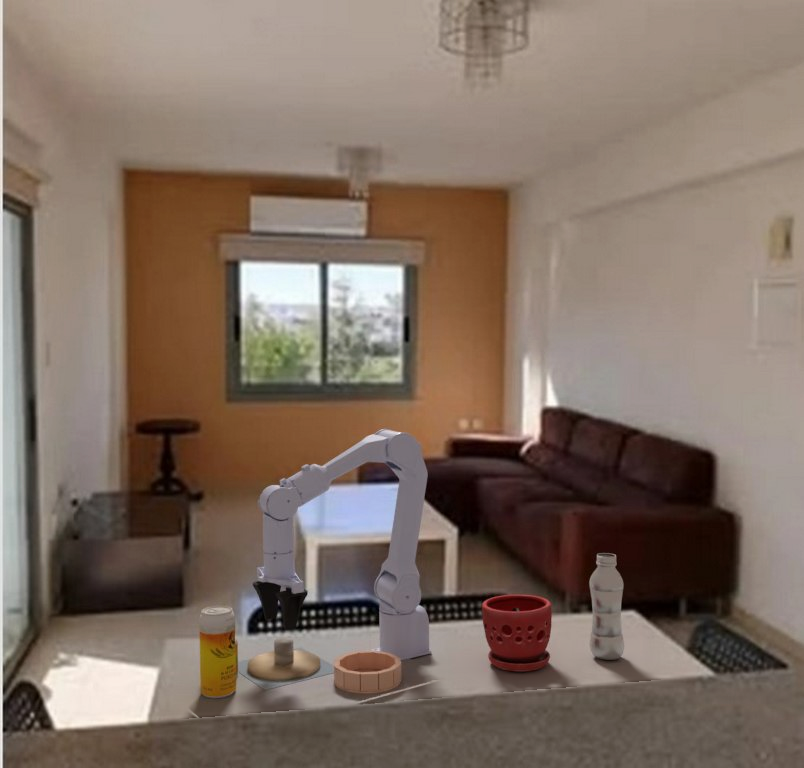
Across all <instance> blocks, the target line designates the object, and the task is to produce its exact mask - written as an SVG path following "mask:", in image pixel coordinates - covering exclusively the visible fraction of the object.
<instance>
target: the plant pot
mask: <svg viewBox="0 0 804 768" xmlns="http://www.w3.org/2000/svg"><path fill="white" fill-rule="evenodd" d="M481 605H482V606H481V611H482V612H481V613H482V625H483V629H484V636H485V638H486V642H487V644H488V645H487V646H488V647H489V649H490V651H489V652H488V654H487V655H488V657H487V658H488V659H489V662H490V663H491V664H492V665H494V666H495V667H497V668H498V669H501V670H502V671H511V672H529V671H531V672H532V671H535V670H539V669H542V668H543V667H544V666H545V667H546V665H547V664H548V662H549V660H550V659H551V654H550V652H549V651H548V650H547V647H548V644H549V641H550V638H551V633H552V632H551V631H552V616H553V615H552V604H551V602H550V601H549V600H548V599H546V598H544V597H542V596H537V595H533V594H532V595H531V594H505V595H498V596H494V597H490V598H488V599H485V600H484V601H483V602H482V604H481ZM514 609H517V610H518V611H513V610H514Z"/></svg>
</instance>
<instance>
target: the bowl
mask: <svg viewBox="0 0 804 768" xmlns="http://www.w3.org/2000/svg"><path fill="white" fill-rule="evenodd" d="M333 665H334V673H333V678H334V680H333V681H334V685H335V687H337V688H338V689H340V690H342V691H345V692H348V693H353V694H354V693H355V694H378V693H383V692H386V691H390V690H394V689H395V688H397V687H398V686H399V685H400V684H401V682H402V660H400V658H399V657H398V656H396V655H394V654H391V653H388V652H381V651H371V650H358V651H352V652H349V653H348V652H347V653H344V654H341V655H340V656H339V657H336V658H335V659H334V660H333Z"/></svg>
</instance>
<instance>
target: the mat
mask: <svg viewBox="0 0 804 768" xmlns="http://www.w3.org/2000/svg"><path fill="white" fill-rule="evenodd" d="M294 650H299V651H306V652H309V651H308V650H306V649H305V648H303V647H298V648H297V647H296V648H294ZM319 658H320V669H319V670H318V671H317V672H315V673H314V674H312V675H309V676H307V677H303V678H299V679H294V680H284V681H272V680H264V679H259V678H256V677H254V676H252V675H250V674H249V673H248V662H249V661H250V660H251V659H252V658H247V659H244V660H240V661H238V674H240V675H242V676H243V677H244V678H246V679H247V680H249V681H250V682H252V683H253V684H255V685H257V686H258V687H259V688H260V689H262V690H264V691H268V690H272V689H277V688H280V687H284V686H288V685H292V684H296V683H301V682H304V681H307V680H311V679H315V678H319V677H320V678H321V677H324V676H327V675H332V674H334V664H332V663H330V662H328V661H326V660H325V659H323V658H321V657H319Z"/></svg>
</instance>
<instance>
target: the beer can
mask: <svg viewBox="0 0 804 768" xmlns="http://www.w3.org/2000/svg"><path fill="white" fill-rule="evenodd" d="M235 615H236V614H235V613H234V610H233V608H232V607H231V606H228V605H213V606H212V605H211V606H207V607H204V608H203V609H201V613H200V615H199V619H198V621H199V622H198V623H199V625H198V627H199V665H200V666H199V668H200V675H199V676H200V677H199V678H200V693H201V694H202V696H204V697H206V698H208V699H222V698H227V697H230V696H232V695H233V694H234V693H235V691H236V690H237V677H236V654H235V636H236V619H235V618H236V616H235Z"/></svg>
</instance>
